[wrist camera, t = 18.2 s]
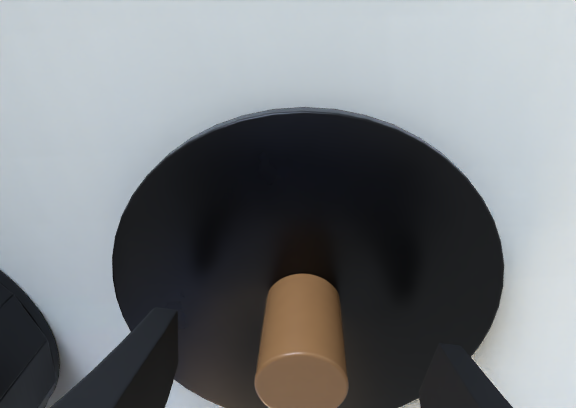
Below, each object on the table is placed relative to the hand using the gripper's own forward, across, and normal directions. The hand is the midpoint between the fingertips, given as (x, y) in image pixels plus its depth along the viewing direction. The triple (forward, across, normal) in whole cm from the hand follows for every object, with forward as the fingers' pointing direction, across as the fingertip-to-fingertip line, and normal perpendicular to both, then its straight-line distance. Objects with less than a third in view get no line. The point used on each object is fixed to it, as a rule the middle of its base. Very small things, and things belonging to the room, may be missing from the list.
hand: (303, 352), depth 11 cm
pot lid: (+2, 0, 0) cm, 3 cm away
